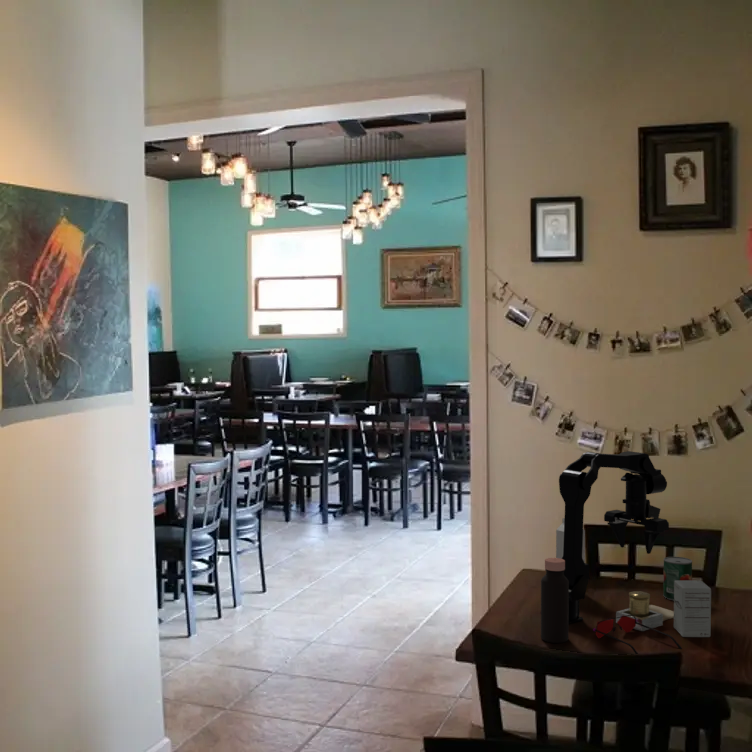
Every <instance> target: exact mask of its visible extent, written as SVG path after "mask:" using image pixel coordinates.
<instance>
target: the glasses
mask: <svg viewBox="0 0 752 752" xmlns="http://www.w3.org/2000/svg"><path fill="white" fill-rule="evenodd" d="M627 616H633V615H626V616H624V615H623V616H621V617H617V618H620V619H619V621H618V622H617V623H616V624H617V625H618V627H619V629H620V630H621V631H622V630H623V631H624V632H625V633H630V632H632V630H633V628H634V627H635V626H636V624H638V625H641V626H643V627H646V628H648V630H652V631H653V632H657V633H659V634H662V635H664V636H667V637H669V638H670V639H671V640H672V641H673V642H674V644H675V645H676V646H677V647H678V649H680V650H683V648H682V646H681V645H680V644H679V642H677V640H676V639H675V638H674V637H673V636H671V635H670V634H667V633H665V632H662V631H660V630H658V629H655V628H650V627H648V626H645V625H643V624H640V623H637V622H636V618H635V616H634V618H635V619H633V618H630V617H627ZM615 620H616V617H611V618H607V619H603V620H601V621H600V620H599V621H596V622H597V623H596V627H593V629H592V631H593V632H595V636H596V637H597V639H601V638H602V637H604V636H606V637H609V638H611V639H613V640H614V641H615V640H616V641H618V642H620V643H623V644H625V645H628V646H629V647H630V648H631V649H632V650H633V652H634V654H635V655H636V654H639V652H637V650H636V649H635V647H634V646H633V645H632V644H630V643H628V642H626V641H624V640H622V639H619V638H617V637H614V636H612V635H610V634H608V633H610V632H611V631H612V632H613V633H614V632H615V631H616V629H617V627H615V626H614V621H615Z"/></svg>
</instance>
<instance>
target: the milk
mask: <svg viewBox="0 0 752 752" xmlns="http://www.w3.org/2000/svg"><path fill="white" fill-rule="evenodd" d="M564 519H565V517H562V521H561V524H560V525H559V526H558V527H557V528H556V531H555V533H556V537H555V544H556V545H555V548H556V549H555V558H560V559H562V557H563V547H564ZM582 559H583V561H584V563H586V530H585V529H584V528H583V544H582ZM569 592H571V590H569Z"/></svg>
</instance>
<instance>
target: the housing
mask: <svg viewBox="0 0 752 752" xmlns="http://www.w3.org/2000/svg"><path fill="white" fill-rule="evenodd" d="M629 609H630V607H627V608H625V609H621V610H617V611H615V618H616V619H615V623H616V624H618V623H617V622H618V621H619V619H620V618H617V617H621V616H623V615H624V616H626V615H630V614H629ZM627 617H630V618H633V619H635V618H636V622H637V623H640V624H643V625H645V626H648V627H650V628H653V629H655V628H658V627H661V626H664V625H663V623H664V621H663V614H661V613H658V612H655V611H651V610H649V616H647V617H643V618H640V617H636V616H635V618H634V616H627ZM633 629H634V630H635V631H639V632H645V631H648V630H649V629H648V628H646V627H643V626H641V625H638V624H636V626H635V627H634V628H633ZM633 629H632V630H633Z"/></svg>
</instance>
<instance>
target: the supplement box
mask: <svg viewBox="0 0 752 752" xmlns="http://www.w3.org/2000/svg"><path fill="white" fill-rule="evenodd" d="M673 611H674V618H673V628H674V630H676V631H677V632H678V633H679V634H680V636H681V637H682V638H710V637H711V632H712V631H711V630H712V629H711V627H712V626H711V621H712V620H711V618H712V617H711V616H712V614H711V613H712V589H711V587H710V586H708V585H707V584H706V583H705V582H704V581H702V580H699V579H698V580H695V579H692V580H676V581H674V601H673Z"/></svg>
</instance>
